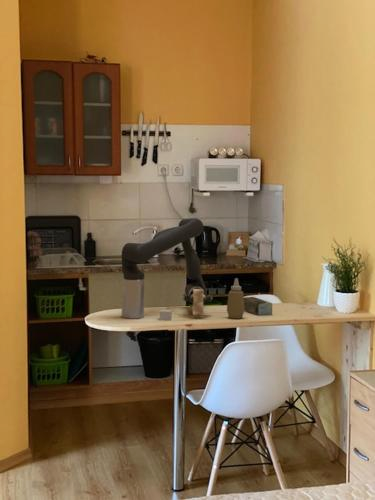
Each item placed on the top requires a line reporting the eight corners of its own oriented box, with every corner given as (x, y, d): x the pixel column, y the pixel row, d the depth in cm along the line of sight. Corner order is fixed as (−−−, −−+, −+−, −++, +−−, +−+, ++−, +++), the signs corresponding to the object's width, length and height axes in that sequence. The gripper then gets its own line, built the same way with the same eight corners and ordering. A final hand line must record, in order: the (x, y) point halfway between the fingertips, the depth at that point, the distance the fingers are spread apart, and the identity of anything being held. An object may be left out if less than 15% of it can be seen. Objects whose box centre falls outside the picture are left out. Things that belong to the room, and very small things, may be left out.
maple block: (192, 314, 287) (193, 290, 287) (192, 313, 292) (193, 289, 291) (202, 315, 287) (203, 290, 287) (202, 313, 292) (203, 289, 291)
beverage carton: (257, 316, 298) (258, 302, 297) (238, 310, 316) (239, 296, 315) (272, 315, 301) (273, 301, 301) (252, 309, 319) (253, 296, 318)
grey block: (159, 320, 283) (159, 311, 283) (160, 318, 288) (160, 309, 288) (171, 320, 283) (171, 311, 282) (171, 318, 288) (171, 309, 287)
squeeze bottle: (248, 318, 292) (249, 278, 290) (235, 320, 286) (236, 279, 285) (235, 315, 298) (236, 276, 296) (222, 317, 293) (223, 278, 291)
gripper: (182, 287, 303) (182, 291, 286) (212, 287, 303) (214, 292, 286) (181, 302, 304) (182, 308, 287) (211, 303, 304) (214, 309, 287)
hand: (198, 300), depth 287 cm, fingers closed on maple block, 4 cm apart
